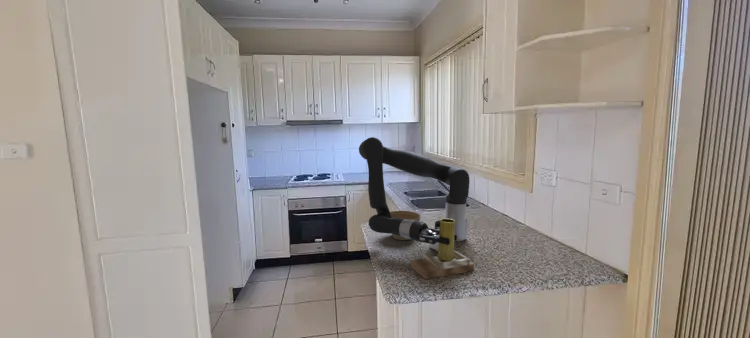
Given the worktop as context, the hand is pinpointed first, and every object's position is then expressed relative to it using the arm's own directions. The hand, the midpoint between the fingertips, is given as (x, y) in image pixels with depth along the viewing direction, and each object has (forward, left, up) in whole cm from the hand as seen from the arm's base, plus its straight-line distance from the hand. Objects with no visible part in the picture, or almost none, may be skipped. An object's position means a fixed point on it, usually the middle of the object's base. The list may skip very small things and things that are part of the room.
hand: (453, 239), depth 122 cm
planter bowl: (+1, -38, -11) cm, 40 cm away
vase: (+1, -2, -8) cm, 8 cm away
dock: (+3, -2, -11) cm, 12 cm away
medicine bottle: (-8, -19, -11) cm, 24 cm away
